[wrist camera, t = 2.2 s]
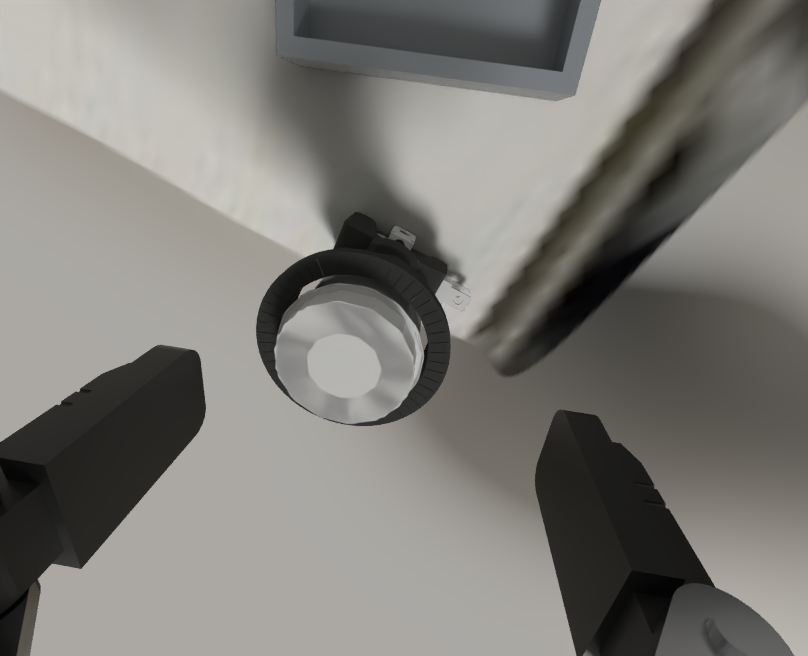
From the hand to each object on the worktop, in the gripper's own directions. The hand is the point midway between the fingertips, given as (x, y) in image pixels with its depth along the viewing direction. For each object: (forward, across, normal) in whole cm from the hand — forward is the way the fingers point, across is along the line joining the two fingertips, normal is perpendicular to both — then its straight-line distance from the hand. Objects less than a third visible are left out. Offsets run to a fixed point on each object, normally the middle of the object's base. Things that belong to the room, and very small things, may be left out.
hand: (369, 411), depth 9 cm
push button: (+11, 0, 0) cm, 11 cm away
